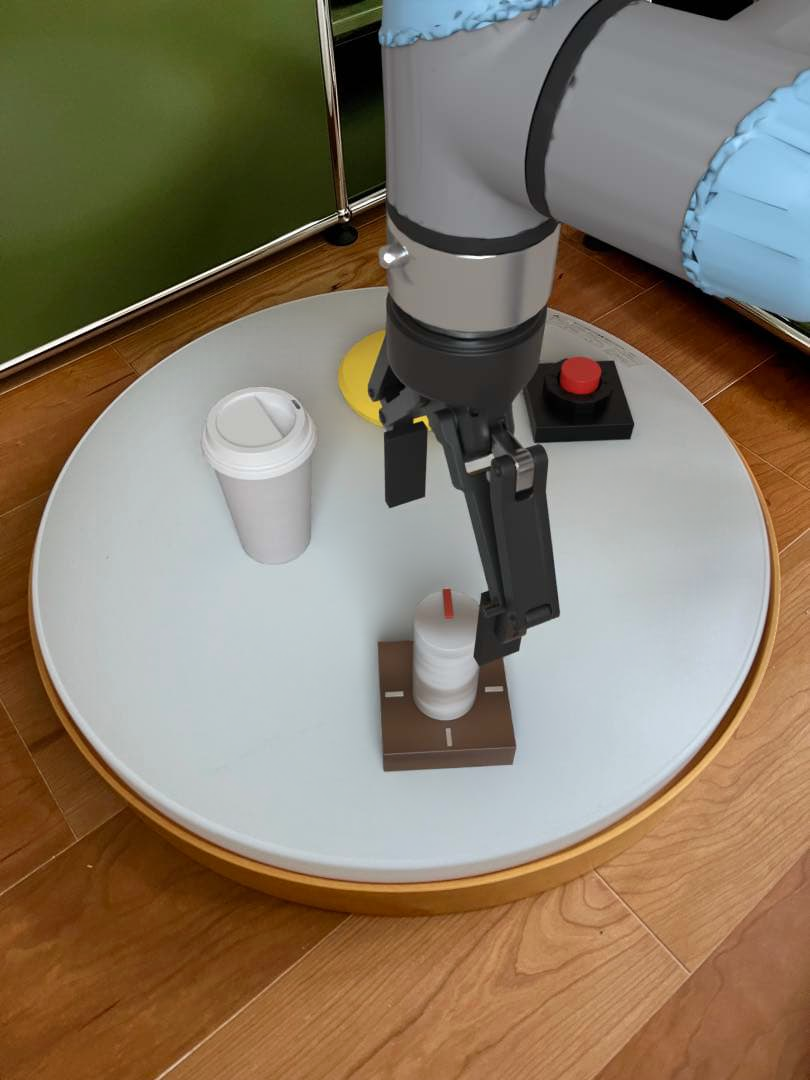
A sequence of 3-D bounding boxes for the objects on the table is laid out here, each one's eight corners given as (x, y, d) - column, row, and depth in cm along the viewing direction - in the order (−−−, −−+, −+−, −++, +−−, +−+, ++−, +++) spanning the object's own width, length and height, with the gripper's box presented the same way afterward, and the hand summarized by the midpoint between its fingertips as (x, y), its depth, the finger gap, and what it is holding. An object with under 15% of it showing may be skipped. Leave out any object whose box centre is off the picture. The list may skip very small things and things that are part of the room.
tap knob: (479, 718, 68) (489, 645, 60) (414, 722, 68) (415, 649, 60) (472, 662, 72) (481, 586, 64) (410, 665, 71) (411, 589, 63)
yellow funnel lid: (379, 466, 90) (377, 414, 84) (315, 375, 98) (310, 322, 93) (513, 417, 94) (520, 364, 89) (440, 333, 103) (442, 281, 98)
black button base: (630, 439, 92) (638, 410, 89) (534, 443, 92) (538, 414, 89) (610, 375, 98) (617, 346, 95) (520, 379, 98) (524, 350, 95)
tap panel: (512, 765, 69) (516, 746, 67) (383, 772, 69) (383, 753, 66) (496, 654, 76) (499, 634, 73) (378, 660, 75) (377, 640, 73)
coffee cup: (331, 572, 81) (319, 455, 70) (225, 583, 80) (195, 467, 69) (323, 494, 87) (311, 375, 76) (224, 504, 86) (196, 385, 75)
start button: (601, 394, 91) (604, 381, 90) (562, 396, 91) (565, 382, 90) (594, 369, 94) (597, 355, 92) (556, 370, 93) (558, 357, 92)
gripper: (300, 179, 47) (325, 460, 64) (525, 502, 33) (483, 757, 50) (428, 151, 49) (420, 431, 66) (694, 445, 35) (599, 708, 51)
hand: (447, 571), depth 58 cm, fingers open, 13 cm apart
